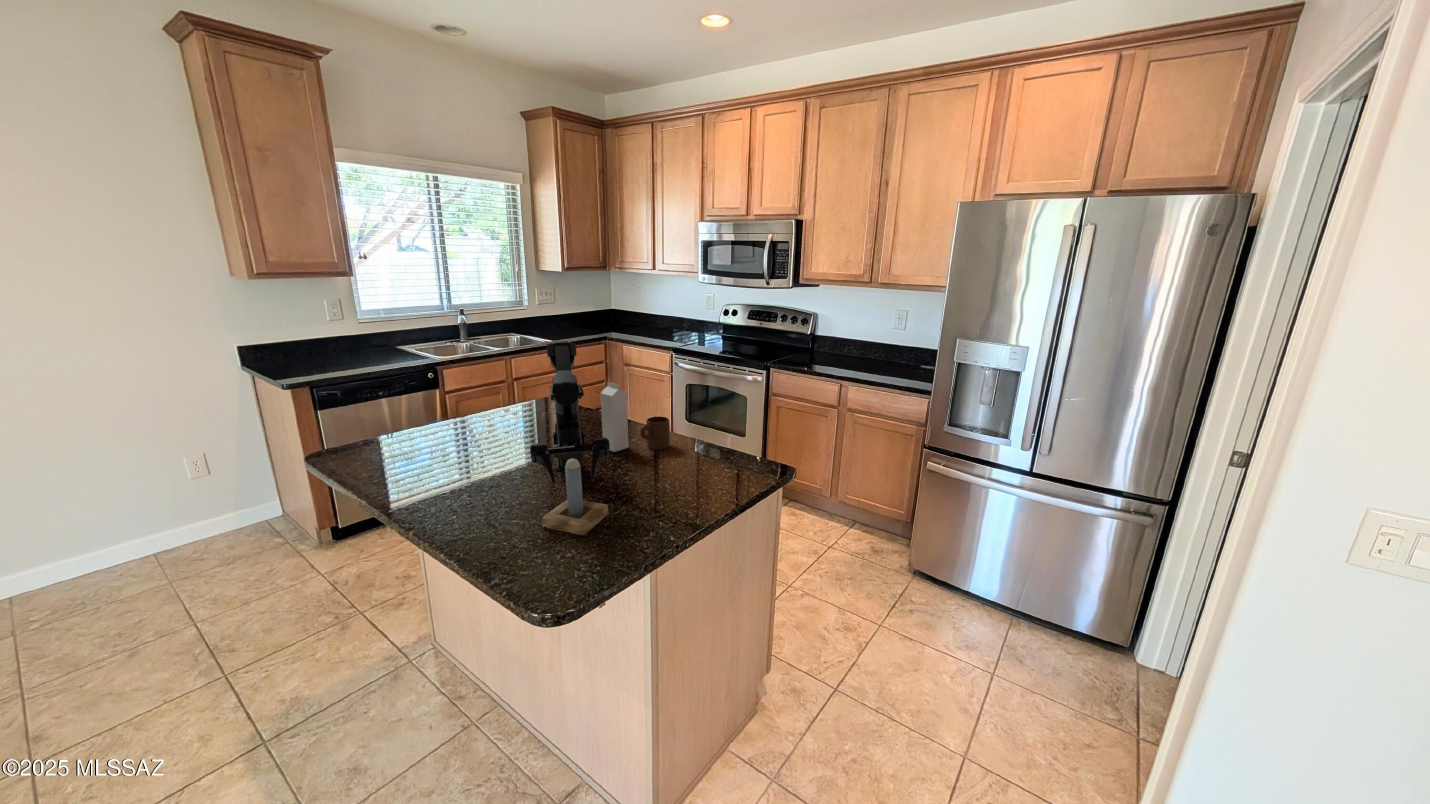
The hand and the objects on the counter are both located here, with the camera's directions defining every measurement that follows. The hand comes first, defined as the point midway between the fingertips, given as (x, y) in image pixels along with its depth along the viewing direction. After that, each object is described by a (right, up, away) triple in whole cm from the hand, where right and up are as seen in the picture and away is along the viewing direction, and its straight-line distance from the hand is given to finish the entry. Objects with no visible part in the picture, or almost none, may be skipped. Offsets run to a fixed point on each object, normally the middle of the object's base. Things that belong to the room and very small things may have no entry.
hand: (573, 482), depth 128 cm
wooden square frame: (+1, -9, -1) cm, 9 cm away
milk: (+1, +4, +47) cm, 48 cm away
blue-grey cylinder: (+1, -9, 0) cm, 9 cm away
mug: (+14, +4, +47) cm, 49 cm away
